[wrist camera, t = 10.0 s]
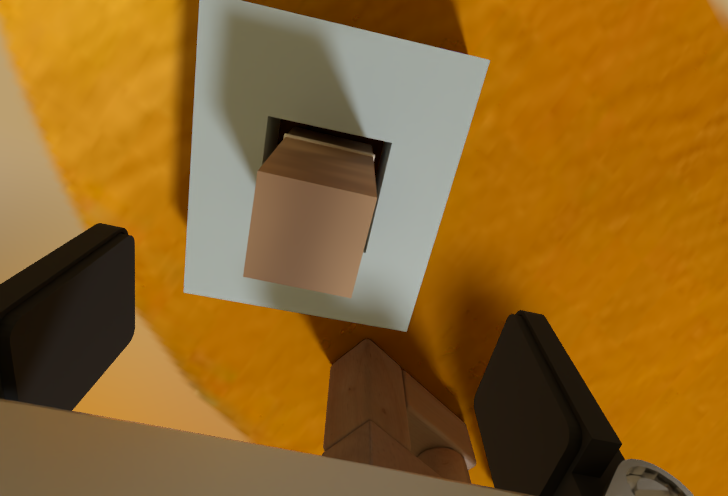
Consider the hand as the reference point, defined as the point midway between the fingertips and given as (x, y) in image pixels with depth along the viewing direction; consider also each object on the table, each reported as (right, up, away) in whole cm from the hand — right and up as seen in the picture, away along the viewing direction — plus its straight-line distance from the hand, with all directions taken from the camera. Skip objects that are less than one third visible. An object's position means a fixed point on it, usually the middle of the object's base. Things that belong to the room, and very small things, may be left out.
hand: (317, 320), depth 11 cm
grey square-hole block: (-1, +6, +13) cm, 15 cm away
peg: (-1, +6, +13) cm, 15 cm away
